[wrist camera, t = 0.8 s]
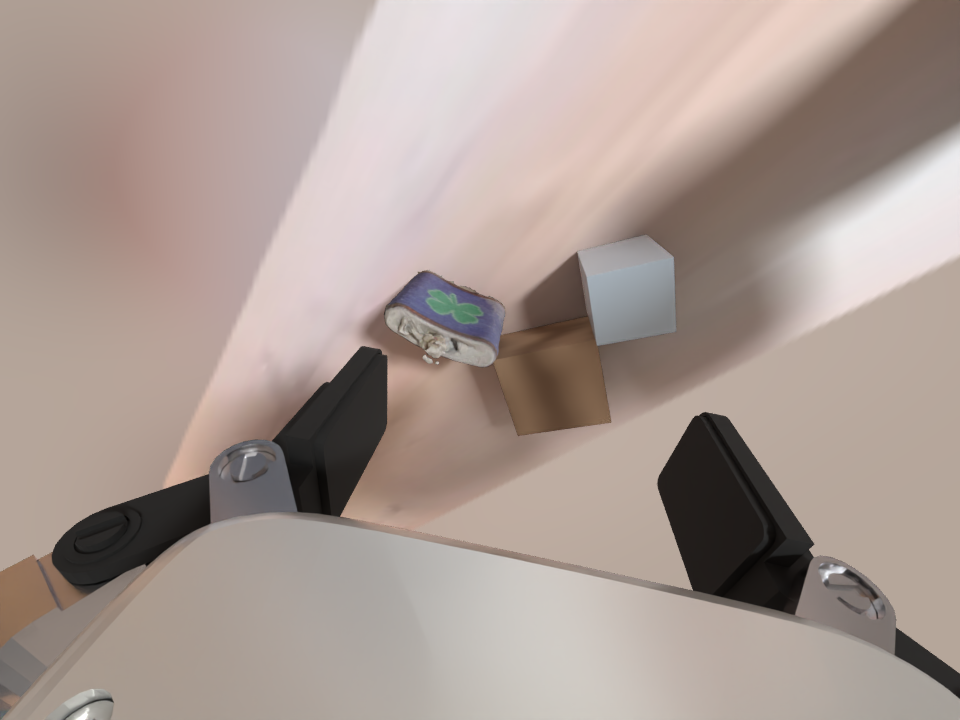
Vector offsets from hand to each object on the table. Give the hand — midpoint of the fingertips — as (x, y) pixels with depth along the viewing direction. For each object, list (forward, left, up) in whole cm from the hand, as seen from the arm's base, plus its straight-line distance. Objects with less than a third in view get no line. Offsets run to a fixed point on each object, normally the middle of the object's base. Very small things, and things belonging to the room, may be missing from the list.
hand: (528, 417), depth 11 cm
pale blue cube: (-6, +5, -24) cm, 25 cm away
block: (+1, +13, -24) cm, 27 cm away
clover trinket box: (+8, +3, -24) cm, 25 cm away
